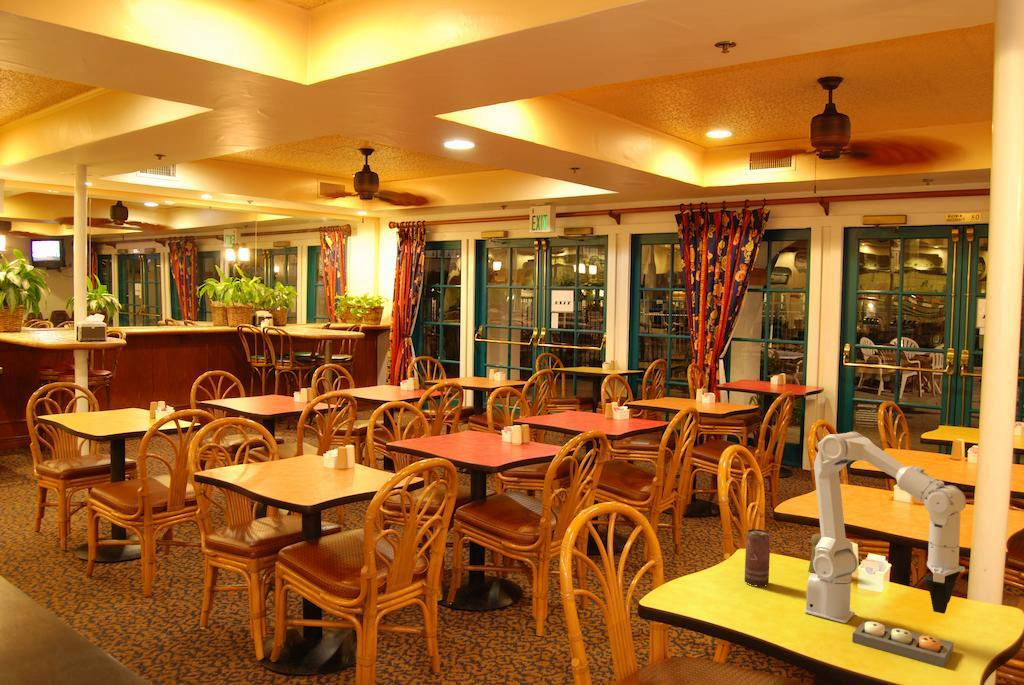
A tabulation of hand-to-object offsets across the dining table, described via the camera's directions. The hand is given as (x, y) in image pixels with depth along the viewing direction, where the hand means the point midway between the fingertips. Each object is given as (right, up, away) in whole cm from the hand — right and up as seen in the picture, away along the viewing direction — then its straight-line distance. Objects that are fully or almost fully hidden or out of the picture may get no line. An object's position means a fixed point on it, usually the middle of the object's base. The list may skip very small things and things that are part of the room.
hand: (941, 606), depth 166 cm
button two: (-7, -9, +3) cm, 12 cm away
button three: (-3, -9, 0) cm, 9 cm away
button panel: (-6, -10, +4) cm, 13 cm away
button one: (-11, -8, +7) cm, 15 cm away
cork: (-6, -8, +50) cm, 51 cm away
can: (-27, -8, +41) cm, 49 cm away
